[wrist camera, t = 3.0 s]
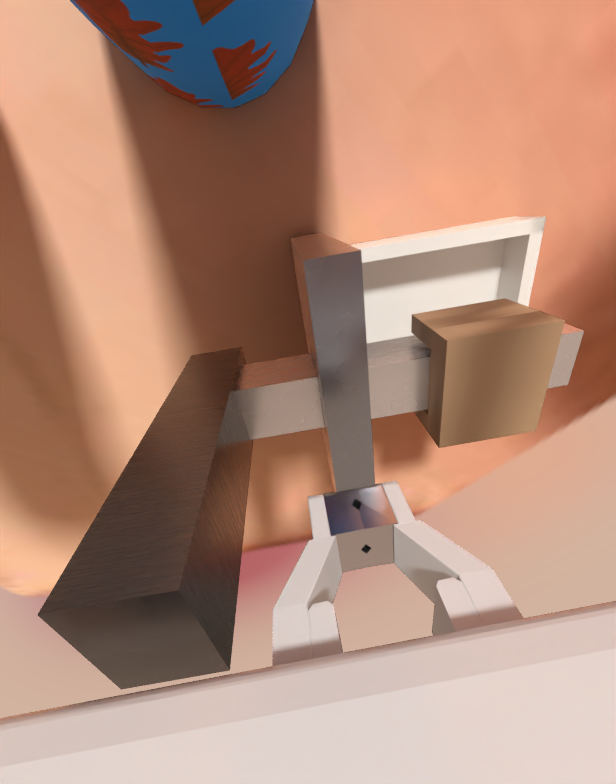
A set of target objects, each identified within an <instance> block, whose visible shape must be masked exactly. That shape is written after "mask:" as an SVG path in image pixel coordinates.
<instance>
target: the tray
mask: <svg viewBox="0 0 616 784" xmlns="http://www.w3.org/2000/svg"><path fill="white" fill-rule="evenodd" d="M545 220H546V217H520V216H513V217H507V218H501V219H495V220H489V221H483V222H478V223H472V224H466V225H460V226H454V227H449V228H443V229H437V230H431V231H425V232H420V233H414V234H408V235H402V236H396V237H390V238H385V239H379V240H373V241H367V242H361V243H356V244H350V246H352V247H355V248H357V249H360V250H361V256H362V273H363V290H364V307H365V324H366V341H367V343H372V342H378V341H384V340H390V339H395V338H401V337H407V336H413V335H414V334H413V333H411V324H412V314H417V313H423V312H429V311H434V310H440V309H446V308H452V307H458V306H463V305H469V304H475V303H481V302H486V301H492V300H498V299H504V298H506V299H508V300H511V301H514V302H517V303H519V304H522V305H525V306H527V307H528V305H529V300H530V295H531V290H532V285H533V280H534V275H535V270H536V265H537V260H538V255H539V250H540V245H541V240H542V235H543V230H544V225H545Z"/></svg>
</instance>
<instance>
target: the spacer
mask: <svg viewBox="0 0 616 784" xmlns="http://www.w3.org/2000/svg"><path fill="white" fill-rule="evenodd" d="M564 324H565V320H563V319H560V318H557V317H555V316H552V315H549V314H546V313H544V312H541V311H538V310H536V309H533V308H530V307H527V306H525V305H522V304H519V303H517V302H514V301H511V300H508V299H506V298H504V299H498V300H492V301H486V302H481V303H475V304H469V305H463V306H458V307H452V308H446V309H440V310H434V311H429V312H423V313H417V314H412V324H411V333H413V334H414V335H415V336H416V337H417V338H418V339H419V340H421V341H422V342H423V343H424V344H425V345H426V346H427V347H429V348H430V349H431V359H430V379H429V399H428V409H426V410H420V411H415V414H416V415H417V417H418V418H419V420H420V421H421V422H422V424H423V425H424V427H425V428H426V430H427V431H428V433H429V434H430V435H431V437H432V438H433V440H434V441H435V443H436V444H437V445H438V447H439V448H441V447H447V446H453V445H458V444H464V443H470V442H476V441H481V440H487V439H493V438H499V437H504V436H510V435H516V434H522V433H527V432H533V431H536V429H537V426H538V422H539V418H540V414H541V410H542V407H543V403H544V399H545V395H546V392H547V388H548V384H549V380H550V376H551V373H552V369H553V365H554V361H555V358H556V354H557V350H558V346H559V342H560V339H561V335H562V331H563V327H564Z"/></svg>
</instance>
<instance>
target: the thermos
mask: <svg viewBox="0 0 616 784" xmlns="http://www.w3.org/2000/svg"><path fill="white" fill-rule="evenodd" d="M70 1H71V2H72V3H73V4H74V5H75V6H76V7H77V8H78V9H79V11H80V12H81V13H82V14H83V15H84V16H85V17H86V18H87V19H88V20H89V21H90V22H91V23H92V24H93V25H94V26H95V27H96V28H97V29H98V30H99V31H101V32H102V33H103V34H104V35H105V36H106V37H107V38H108V39H109V40H110V41H111V42H112V43H113V44H114V45H115V46H117V47H118V48H119V49H120V50H121V51H122V52H123V53H124V54H125V55H126V56H127V57H128V58H129V59H130V60H132V61H133V62H134V63H135V64H136V65H137V66H138V67H139V68H140V69H141V70H143V71H144V72H145V73H146V74H147V75H148V76H150V77H151V78H152V79H153V80H154V81H155V82H157V83H158V84H159V85H160V86H161V87H162V88H164V89H165V90H166V91H167V92H169V93H172V94H174V95H176V96H178V97H180V98H183V99H185V100H187V101H189V102H191V103H194V104H196V105H198V106H200V107H220V108H236V107H238V106H240V105H242V104H244V103H246V102H249V101H251V100H253V99H255V98H257V97H259V96H261V95H263V94H265V93H267V91H268V90H269V89H270V88H271V87H272V86H273V84H274V83H275V82H276V81H277V80H278V79H279V77H280V76H281V75H282V74H283V73H284V72H285V70H286V69H287V68H288V67H289V66H290V65H291V63H292V60H293V58H294V55H295V53H296V50H297V48H298V45H299V43H300V40H301V38H302V35H303V33H304V30H305V28H306V25H307V22H308V19H309V16H310V12H311V8H312V5H313V1H314V0H70Z"/></svg>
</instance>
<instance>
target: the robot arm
mask: <svg viewBox="0 0 616 784" xmlns="http://www.w3.org/2000/svg"><path fill="white" fill-rule="evenodd" d="M323 495H324V497H323ZM324 501H325V502H324ZM308 504H309V512H310V520H311V528H312V536H313V540H309V541H308V542H307V544H306V546H305V548H304V550H303V552H302V554H301V556H300V558H299V560H298V562H297V564H296V566H295V568H294V570H293V572H292V574H291V575H290V578H289V579H288V581H287V583H286V585H285V587H284V589H283V591H282V593H281V595H280V597H279V599H278V601H277V603H276V605H275V607H274V609H273V666H271V667H266V668H261V669H256V670H251V671H245V672H240V673H235V674H230V675H224V676H219V677H214V678H209V679H203V680H199V681H193V682H188V683H182V684H177V685H172V686H167V687H162V688H157V689H151V690H146V691H141V692H135V693H130V694H125V695H119V696H114V697H109V698H104V699H99V700H94V701H88V702H83V703H78V704H72V705H68V706H62V707H57V708H52V709H46V710H41V711H36V712H30V713H26V714H20V715H15V716H9V717H4V718H0V784H616V601H613V602H608V603H602V604H597V605H592V606H587V607H582V608H577V609H571V610H566V611H561V612H556V613H551V614H545V615H540V616H535V617H529V618H523V617H522V615H521V613H520V612H519V610H518V609H517V607H516V606H515V604H514V602H513V601H512V599H511V598H510V596H509V594H508V593H507V591H506V590H505V588H504V586H503V585H502V584H501V582H500V580H499V579H498V577H497V575H496V574H495V572H494V571H493V569H492V568H490V567H489V566H487V565H486V564H484V563H483V562H482V561H480V560H479V559H477V558H476V557H474V556H473V555H471V554H469V553H468V552H467V551H465V550H464V549H463V548H461V547H459V546H458V545H457V544H455V543H454V542H452V541H451V540H449V539H448V538H446V537H445V536H443V535H442V534H441V533H439V532H438V531H436V530H435V529H433V528H432V527H430V526H429V525H427V524H426V523H425V522H423V521H422V520H415V517H414V515H413V513H412V511H411V509H410V507H409V505H408V503H407V501H406V499H405V497H404V495H403V493H402V491H401V488H400V486H399V484H398V483H397V482H396V481H391V482H386V483H381V484H375V485H370V486H364V487H359V488H354V489H351V490H345V491H338V492H332V493H325V494H321V495H314V496H308ZM389 563H395V565H396V566H397V567H398V568H399V569H400V570H401V571H402V572H403V573H404V574H405V575H406V576H407V577H408V578H409V579H410V580H411V581H412V582H413V583H414V584H415V585H416V586H417V587H418V588H419V589H420V590H421V591H422V592H423V593H424V594H425V595H426V596H427V597H428V598H429V599H430V600H431V601H432V602H433V603H434V604H435V605H434V616H433V627H432V633H433V636H429V637H424V638H418V639H413V640H408V641H403V642H397V643H392V644H387V645H382V646H376V647H371V648H366V649H361V650H355V651H350V652H345V653H343V650H342V645H341V640H340V635H339V630H338V625H337V619H336V614H335V609H334V605H333V602H334V598H335V595H336V592H337V589H338V586H339V583H340V580H341V577H342V572H346V571H351V570H356V569H361V568H365V567H370V566H377V565H383V564H389Z"/></svg>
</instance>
